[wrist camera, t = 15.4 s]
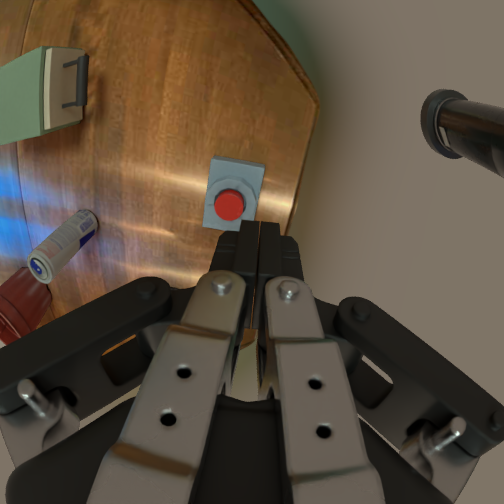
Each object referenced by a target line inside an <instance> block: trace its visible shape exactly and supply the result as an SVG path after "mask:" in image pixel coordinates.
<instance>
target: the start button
mask: <svg viewBox="0 0 504 504" xmlns="http://www.w3.org/2000/svg"><path fill="white" fill-rule="evenodd" d="M243 208H244V199H243V197H242V195H241V194H240V193H239V192H237V191H235V190H225V191H223V192H221V193H220V194H219V196H218V197H217V199H216V202H215V205H214V209H215V212H216V214H217V215H218V216H219V217H220V218H221V219H223V220H227V221H232V220H236V219H237V218H239V217H240V216H241V214H242V212H243Z"/></svg>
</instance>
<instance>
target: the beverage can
mask: <svg viewBox="0 0 504 504" xmlns="http://www.w3.org/2000/svg"><path fill="white" fill-rule="evenodd" d="M97 228H98V224H97V220H96V218H95V216H94V215H93V214H92V213H91V212H90V211H88V210H80V211H78V212H77V213H75V214H74V215H73V216H72V217H70V218H69V219H68V220H67V221H66V222H64V223H63V224H62V225H61V226H60V227H59V228H57V229H56V230H55V231H54V232H53V233H52V234H51V235H49V236H48V237H47V238H46V239H45V240H44V241H43V242H42V243H41V244H40V245H39V246H37V247H36V248H35V249H34V250H33V251H32V252H31V254H29V256H28V258H27V263H28V267H29V269H30V271H31V273H32V274H33V275H34V277H35V278H36V279H37V280H39V281H40V282H42V283H45V284H48V283H50V282H51V281H52V280H53V279H54V278H55V276H56V275H57V274H58V273H59V272H60V271H61V269H62V268H63V267H64V266H65V265H66V264H67V263H68V262H69V260H70V259H71V258H72V257H73V256H74V255H75V254H76V253H77V252H78V251H79V250H80V249H81V248H82V246H83V245H84V244H85V243H86V242H87V241H88V240H89V239H90V238H91V237H92V236H93V235H94V234H95V233H96V231H97Z"/></svg>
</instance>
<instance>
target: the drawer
mask: <svg viewBox="0 0 504 504" xmlns="http://www.w3.org/2000/svg"><path fill="white" fill-rule="evenodd" d="M84 53H85V50H78V49H66V48H50V49H48V50H46V57H45V58H44V72H43V125H44V129H45V130H47V129H51V128H54V127H57V126H61V125H64V124H68V123H71V122H75V121H79V120H82V106H84V105H87V86H88V65H89V56H88V55H86V56H84Z"/></svg>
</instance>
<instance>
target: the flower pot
mask: <svg viewBox="0 0 504 504" xmlns="http://www.w3.org/2000/svg"><path fill="white" fill-rule="evenodd" d="M50 303H51V293H50V291H48V290H47V286H46V284H45V283H42V282H40V281H39V280H37V279H36V278H35V277H34V275H33V274H32V273H31V271H30V269H29V268H23V267H22V268H21V269H19V270H18V271H17V272H16V273H15V274H14V275H12V276H11V277H10V278H9V279H8V280H7V281H6V282H4V283H3V284H2V285H1V286H0V340H1V341H2V342H3V343H4V344H5V345H8V344H10V343H12V342H13V341H15V340H17V339H19V338H21V337H23V336H25V335H27V334H28V333H30V332H32V331H34V330H36V328H37V326H38V324H39V322H40V321H41V319H42V317H43V315H44V314H45V312H46V310H47V308H48V307H49V305H50Z"/></svg>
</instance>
